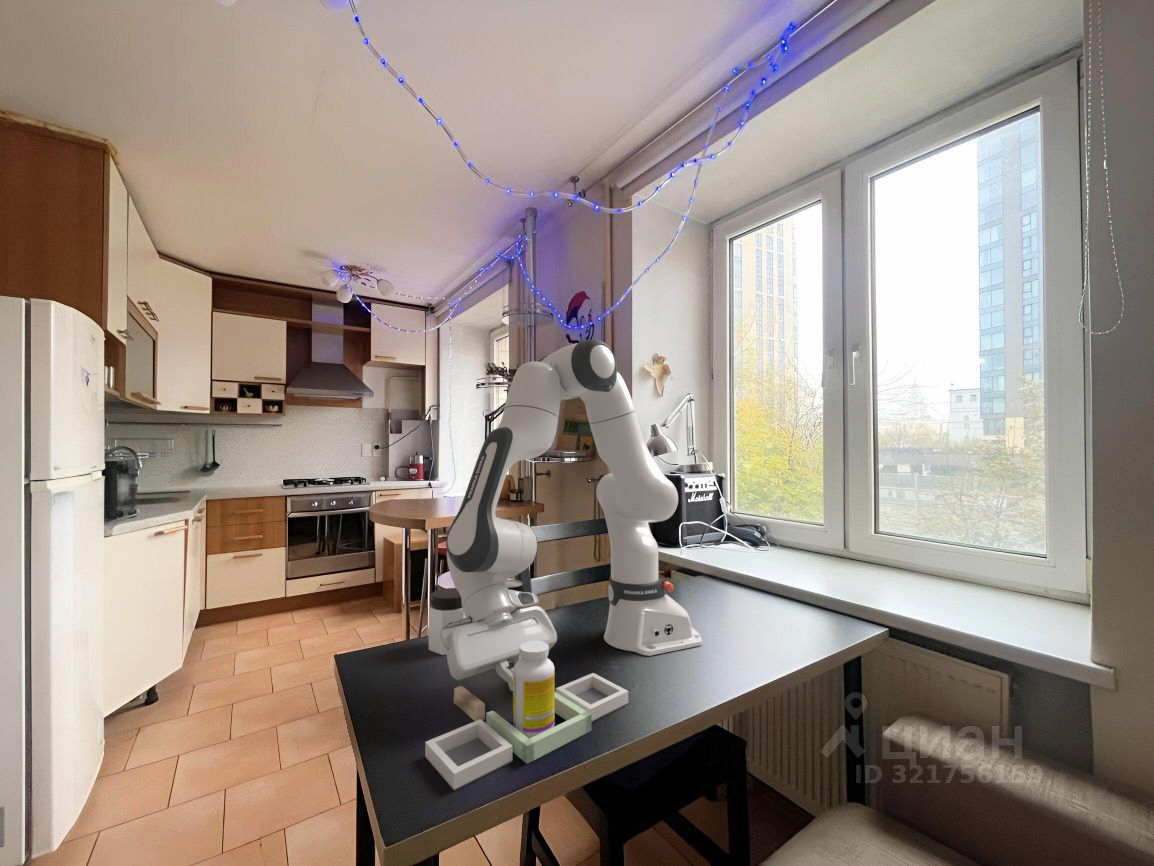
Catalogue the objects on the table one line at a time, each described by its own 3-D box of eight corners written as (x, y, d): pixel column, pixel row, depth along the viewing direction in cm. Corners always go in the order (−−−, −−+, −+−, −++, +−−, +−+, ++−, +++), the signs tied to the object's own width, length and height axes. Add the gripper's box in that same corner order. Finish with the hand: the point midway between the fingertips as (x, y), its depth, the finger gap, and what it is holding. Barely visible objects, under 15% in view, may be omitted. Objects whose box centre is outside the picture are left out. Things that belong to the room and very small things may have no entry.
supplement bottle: (563, 727, 77) (563, 645, 78) (532, 746, 72) (532, 659, 73) (535, 711, 82) (535, 634, 82) (504, 728, 77) (504, 646, 77)
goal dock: (486, 728, 77) (486, 712, 77) (548, 702, 85) (548, 687, 85) (526, 763, 68) (527, 745, 68) (591, 730, 76) (591, 714, 76)
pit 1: (425, 757, 70) (425, 741, 70) (480, 733, 76) (480, 719, 76) (454, 791, 63) (454, 773, 63) (512, 761, 69) (512, 746, 69)
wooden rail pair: (453, 702, 84) (454, 688, 85) (516, 679, 93) (516, 666, 93) (476, 722, 78) (476, 707, 79) (541, 695, 87) (541, 681, 87)
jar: (438, 638, 113) (439, 586, 113) (472, 639, 112) (473, 587, 113) (423, 654, 104) (424, 598, 104) (460, 656, 103) (460, 599, 104)
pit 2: (555, 700, 85) (555, 688, 85) (593, 684, 91) (593, 672, 91) (590, 722, 78) (590, 709, 79) (628, 703, 84) (628, 691, 84)
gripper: (443, 615, 80) (471, 699, 72) (542, 592, 93) (575, 661, 85) (431, 634, 83) (456, 717, 75) (529, 609, 96) (559, 677, 88)
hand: (520, 687), depth 80 cm, fingers closed, pressing on supplement bottle
